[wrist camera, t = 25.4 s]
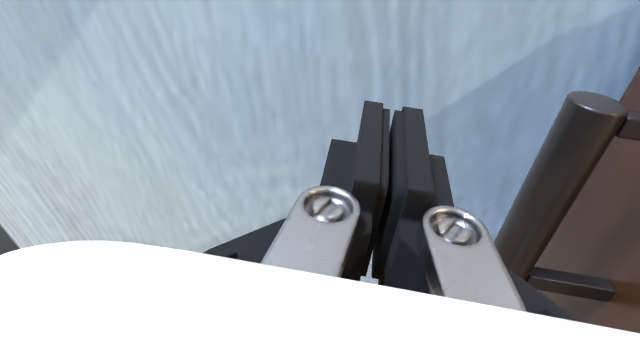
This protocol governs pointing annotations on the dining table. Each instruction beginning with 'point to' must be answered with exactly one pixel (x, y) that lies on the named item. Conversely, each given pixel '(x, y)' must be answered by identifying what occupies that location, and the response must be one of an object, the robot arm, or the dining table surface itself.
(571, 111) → the drawer
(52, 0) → the dining table surface
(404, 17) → the dining table surface
